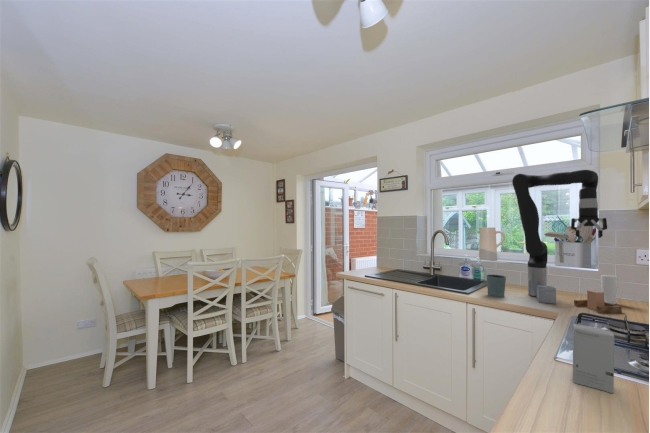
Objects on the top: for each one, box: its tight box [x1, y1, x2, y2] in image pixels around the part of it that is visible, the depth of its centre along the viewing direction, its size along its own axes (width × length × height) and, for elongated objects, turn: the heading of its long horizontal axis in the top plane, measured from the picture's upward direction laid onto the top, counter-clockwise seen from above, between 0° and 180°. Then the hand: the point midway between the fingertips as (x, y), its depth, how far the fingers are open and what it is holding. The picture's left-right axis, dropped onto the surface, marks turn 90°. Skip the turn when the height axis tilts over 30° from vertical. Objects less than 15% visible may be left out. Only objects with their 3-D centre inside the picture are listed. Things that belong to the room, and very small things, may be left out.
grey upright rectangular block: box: [572, 323, 615, 394], centre depth 79 cm, size 8×6×15 cm
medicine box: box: [536, 285, 557, 305], centre depth 162 cm, size 8×4×9 cm, turn 65°
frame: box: [573, 299, 623, 314], centre depth 148 cm, size 12×13×3 cm
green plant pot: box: [486, 274, 507, 298], centre depth 176 cm, size 10×10×12 cm
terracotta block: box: [586, 289, 604, 311], centre depth 149 cm, size 4×4×9 cm
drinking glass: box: [600, 274, 619, 305], centre depth 160 cm, size 7×7×15 cm
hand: (588, 237), depth 156 cm, fingers open, 8 cm apart
